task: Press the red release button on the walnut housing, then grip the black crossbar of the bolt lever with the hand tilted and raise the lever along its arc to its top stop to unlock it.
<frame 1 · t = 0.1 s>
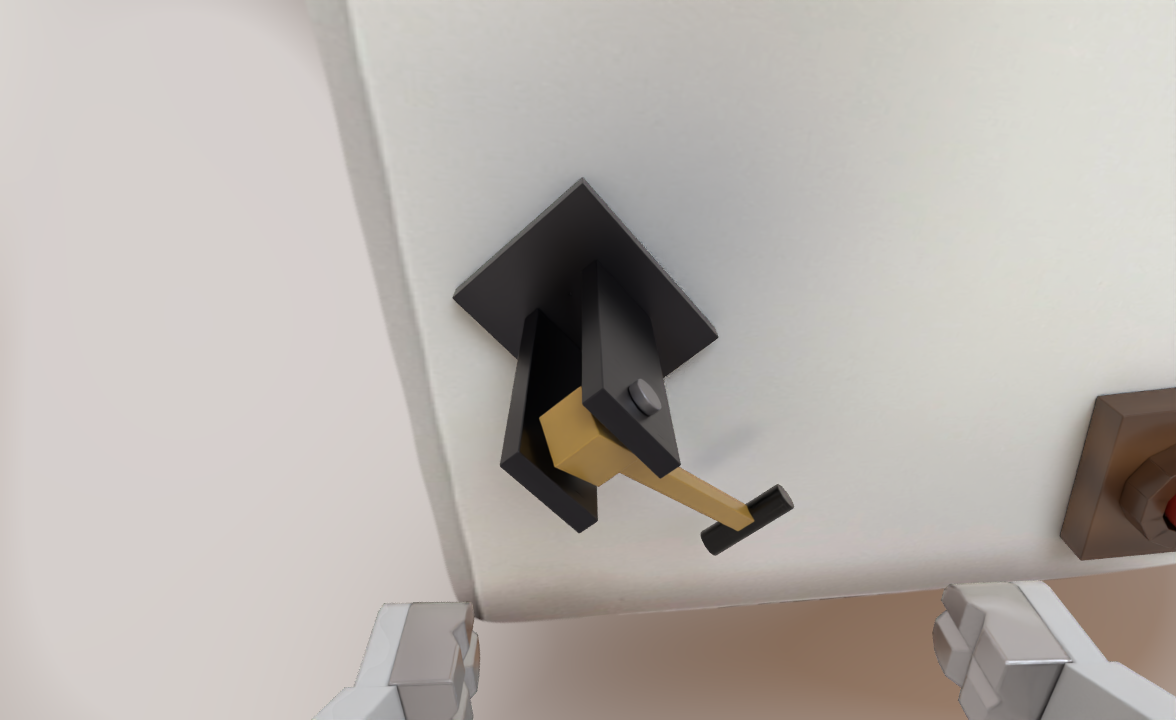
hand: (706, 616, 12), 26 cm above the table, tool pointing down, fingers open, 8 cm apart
bolt lever: (676, 483, 31), point 9 cm above the table, hinge at -25.0°
bolt bracket: (587, 308, 37), on the table
release housing: (1152, 462, 42), on the table
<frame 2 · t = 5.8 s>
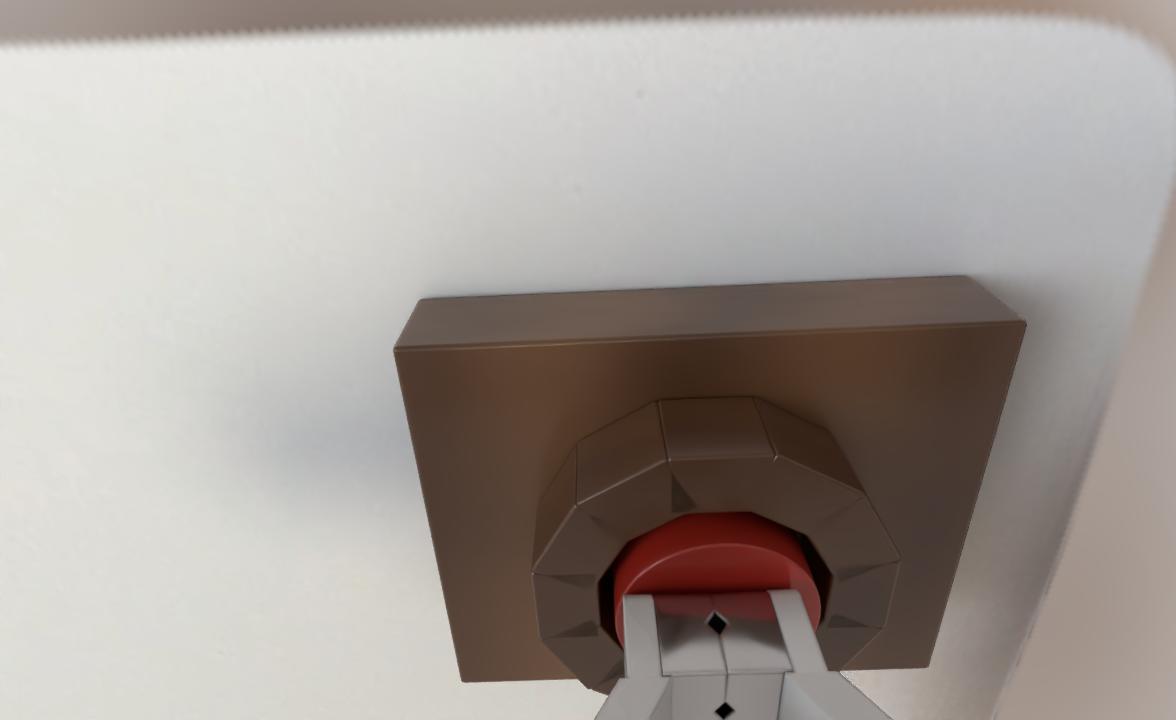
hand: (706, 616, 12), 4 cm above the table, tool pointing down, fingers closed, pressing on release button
release button: (709, 583, 13), point 4 cm above the table, slide at -0.8 cm, touching gripper
release housing: (685, 466, 16), on the table
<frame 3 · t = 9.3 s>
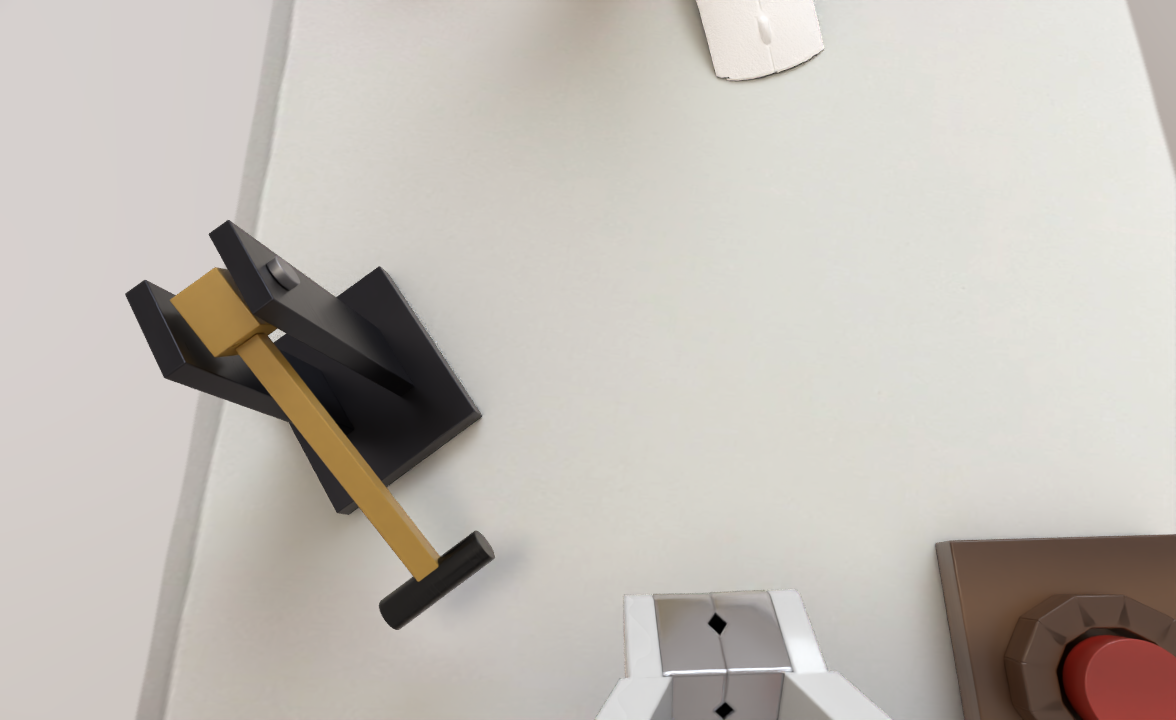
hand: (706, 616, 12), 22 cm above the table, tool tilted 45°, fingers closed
release button: (1128, 689, 25), point 4 cm above the table, slide at 0.1 cm
bolt lever: (330, 442, 29), point 9 cm above the table, hinge at -25.0°
bolt bracket: (369, 388, 39), on the table
release housing: (1069, 673, 29), on the table
computer mouse: (749, 1, 43), on the table
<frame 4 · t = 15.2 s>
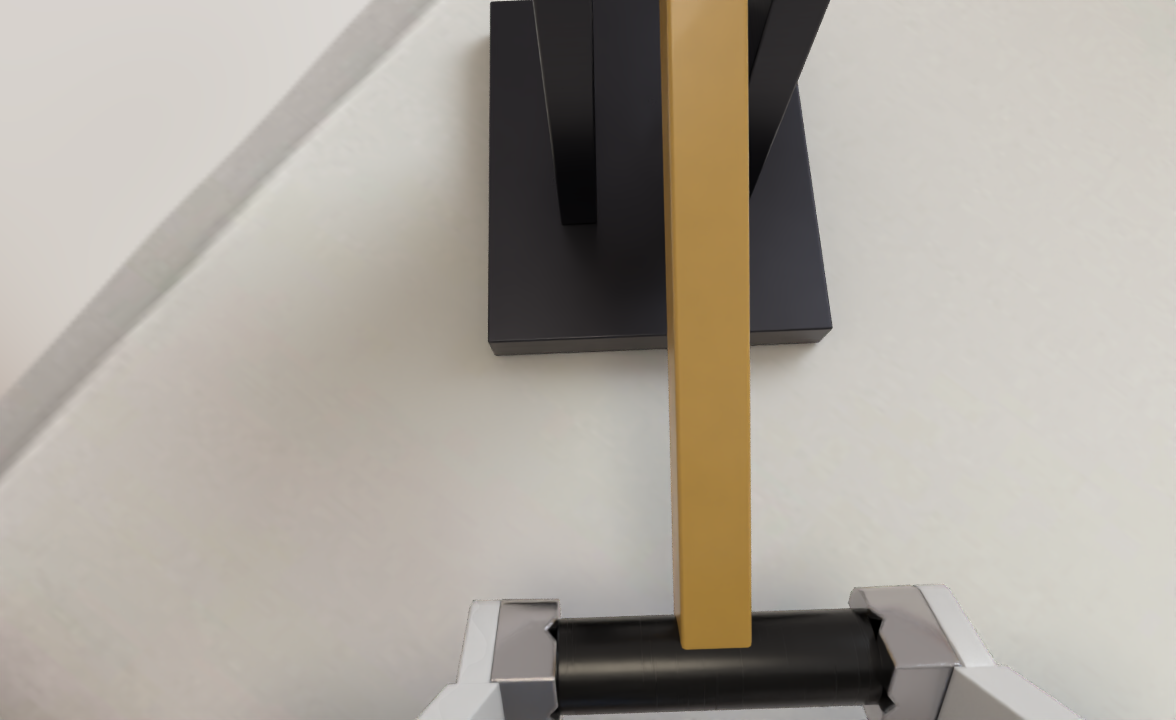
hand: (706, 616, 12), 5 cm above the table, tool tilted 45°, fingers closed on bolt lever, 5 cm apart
bolt lever: (704, 198, 10), point 9 cm above the table, hinge at -25.0°, touching gripper
bolt bracket: (645, 174, 21), on the table
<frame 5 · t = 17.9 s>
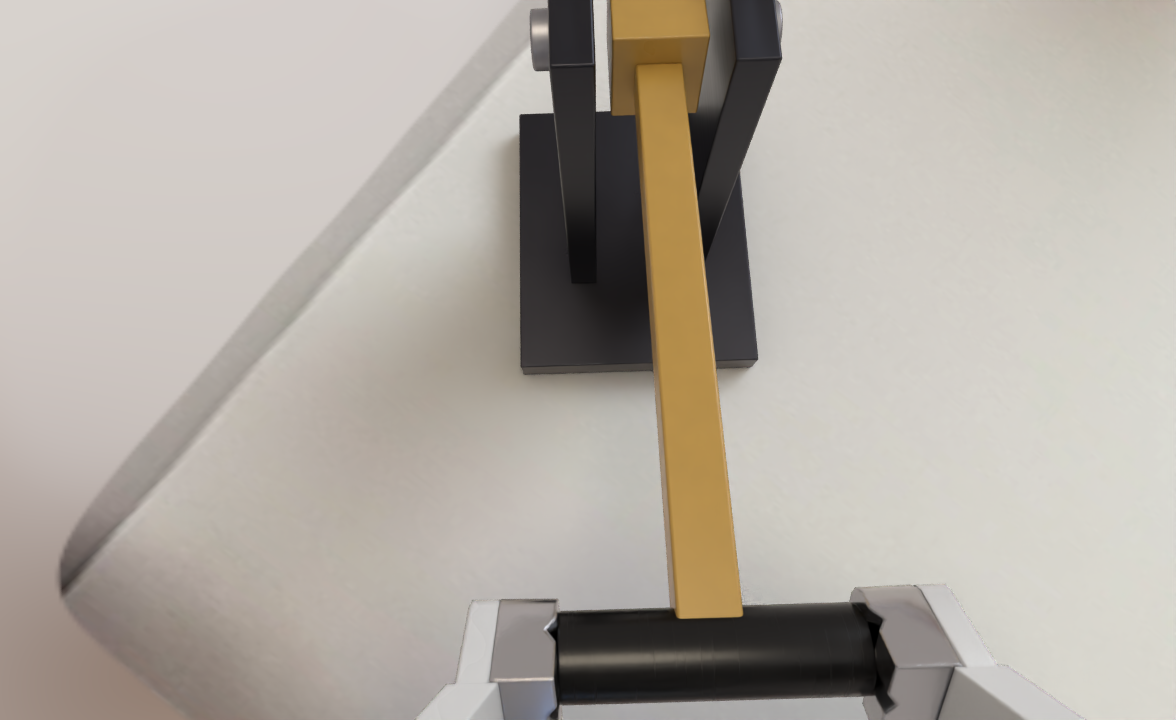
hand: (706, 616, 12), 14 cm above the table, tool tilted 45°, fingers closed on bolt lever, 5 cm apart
bolt lever: (674, 269, 14), point 13 cm above the table, hinge at 8.3°, touching gripper
bolt bracket: (631, 242, 29), on the table
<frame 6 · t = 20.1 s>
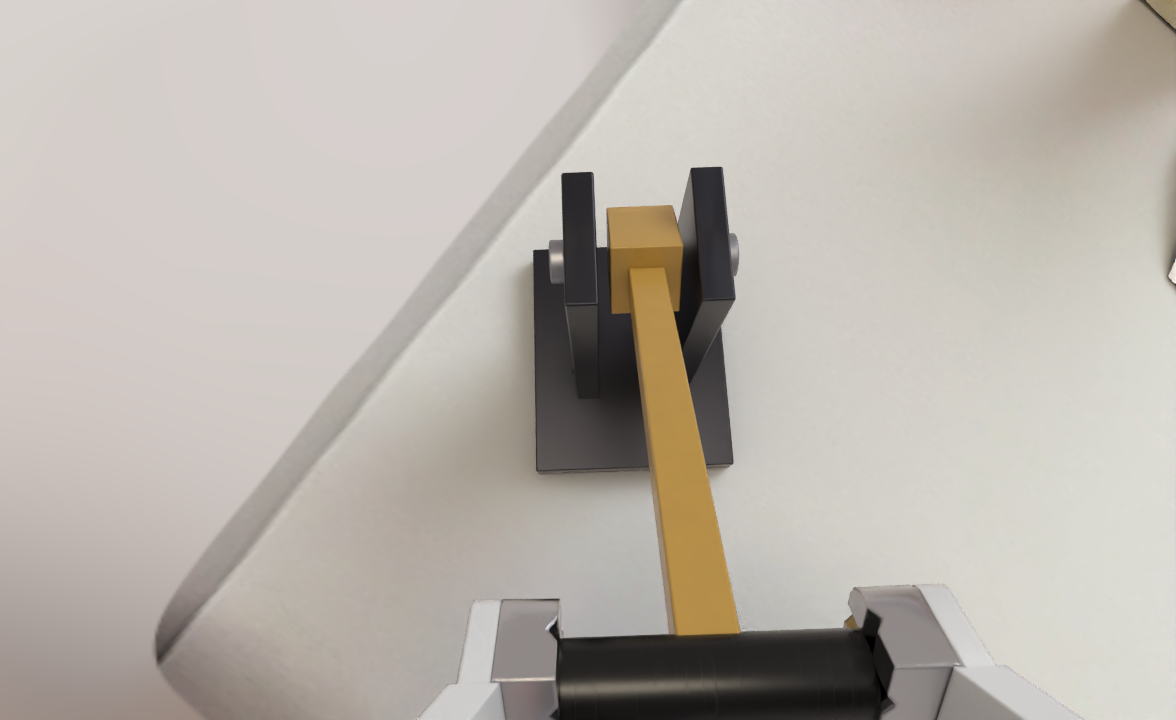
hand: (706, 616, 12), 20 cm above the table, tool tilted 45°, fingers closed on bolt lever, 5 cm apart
bolt lever: (664, 390, 17), point 16 cm above the table, hinge at 36.7°, touching gripper
bolt bracket: (627, 358, 34), on the table
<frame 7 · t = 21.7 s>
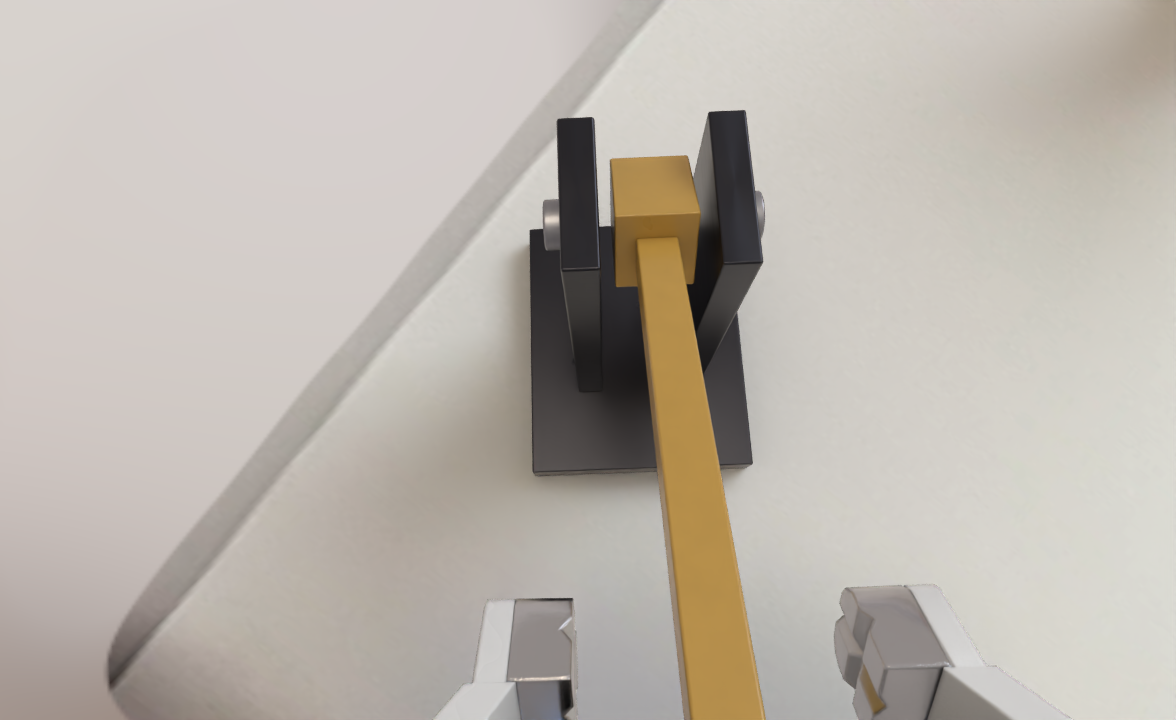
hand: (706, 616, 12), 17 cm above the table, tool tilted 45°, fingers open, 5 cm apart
bolt lever: (678, 404, 15), point 15 cm above the table, hinge at 26.9°
bolt bracket: (634, 348, 31), on the table
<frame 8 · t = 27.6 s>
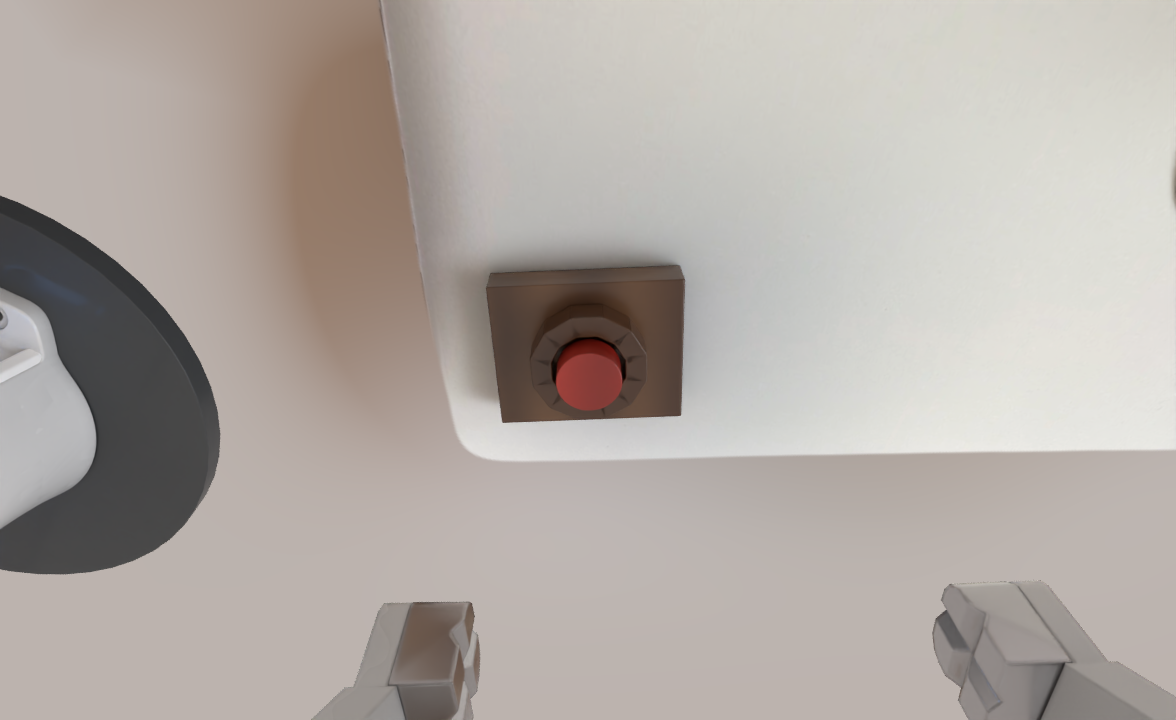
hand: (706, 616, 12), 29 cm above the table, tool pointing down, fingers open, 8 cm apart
release button: (589, 374, 38), point 4 cm above the table, slide at 0.1 cm
release housing: (588, 338, 42), on the table
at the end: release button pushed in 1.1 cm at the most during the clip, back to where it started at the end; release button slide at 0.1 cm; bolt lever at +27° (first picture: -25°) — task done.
